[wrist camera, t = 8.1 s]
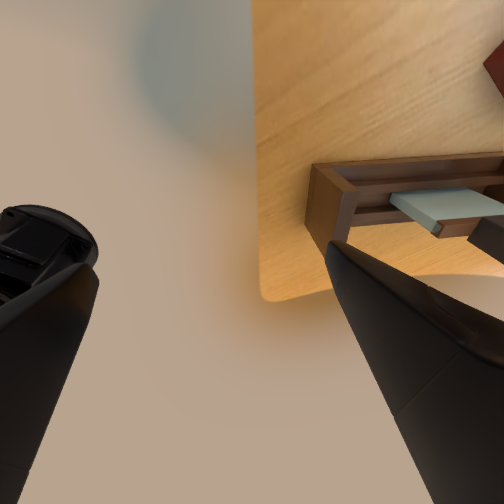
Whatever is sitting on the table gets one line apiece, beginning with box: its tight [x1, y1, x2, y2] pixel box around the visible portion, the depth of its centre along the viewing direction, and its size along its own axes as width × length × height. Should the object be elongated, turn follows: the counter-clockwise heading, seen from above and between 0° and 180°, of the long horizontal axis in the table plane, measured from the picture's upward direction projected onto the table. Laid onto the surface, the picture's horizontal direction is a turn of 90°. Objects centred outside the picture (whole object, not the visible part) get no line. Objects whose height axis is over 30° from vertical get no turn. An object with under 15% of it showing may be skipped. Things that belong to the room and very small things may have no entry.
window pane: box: [389, 187, 504, 264], centre depth 17 cm, size 7×2×10 cm, turn 92°
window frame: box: [305, 152, 504, 259], centre depth 20 cm, size 18×6×6 cm, turn 92°
